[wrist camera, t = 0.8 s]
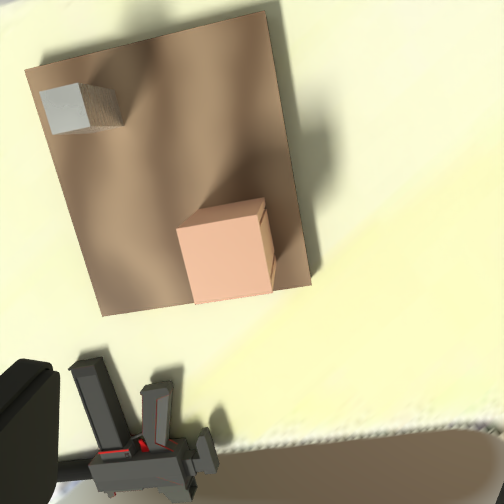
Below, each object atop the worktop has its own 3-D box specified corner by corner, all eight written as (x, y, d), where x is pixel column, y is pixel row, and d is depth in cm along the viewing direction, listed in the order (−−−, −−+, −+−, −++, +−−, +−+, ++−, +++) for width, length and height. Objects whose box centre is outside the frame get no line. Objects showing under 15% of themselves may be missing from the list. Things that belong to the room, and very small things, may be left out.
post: (122, 91, 33) (77, 82, 26) (131, 126, 33) (90, 126, 27) (90, 98, 33) (38, 91, 26) (100, 132, 34) (52, 134, 27)
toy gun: (-8, 382, 40) (46, 514, 43) (175, 353, 36) (221, 502, 39) (15, 366, 43) (64, 491, 46) (187, 338, 39) (229, 477, 42)
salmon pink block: (264, 197, 32) (256, 214, 26) (276, 261, 34) (272, 293, 27) (198, 209, 33) (175, 229, 27) (213, 271, 34) (194, 304, 28)
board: (266, 15, 30) (264, 10, 29) (310, 278, 35) (311, 285, 34) (36, 72, 33) (24, 69, 31) (109, 309, 38) (102, 316, 37)
